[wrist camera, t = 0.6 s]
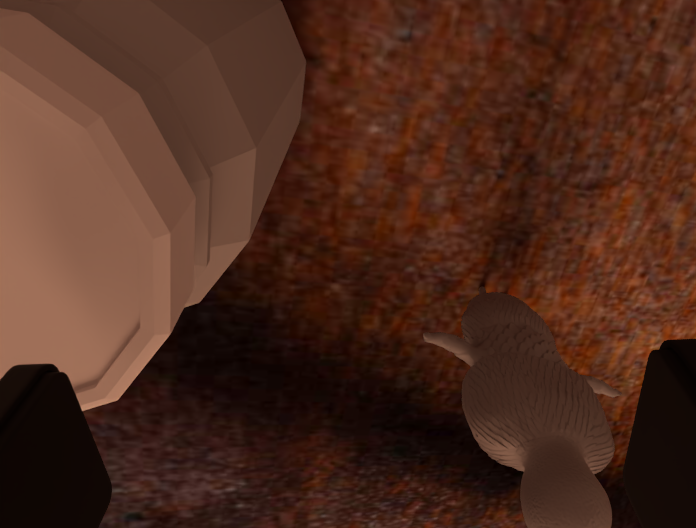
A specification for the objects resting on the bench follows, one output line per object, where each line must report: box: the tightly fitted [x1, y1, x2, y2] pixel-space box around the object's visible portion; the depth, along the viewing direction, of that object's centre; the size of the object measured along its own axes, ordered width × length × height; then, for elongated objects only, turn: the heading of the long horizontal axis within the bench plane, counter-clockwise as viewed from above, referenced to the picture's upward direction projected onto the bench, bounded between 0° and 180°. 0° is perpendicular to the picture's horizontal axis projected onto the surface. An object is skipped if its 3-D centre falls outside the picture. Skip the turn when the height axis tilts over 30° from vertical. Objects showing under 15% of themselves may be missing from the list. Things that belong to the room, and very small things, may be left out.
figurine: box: [423, 287, 622, 528], centre depth 25 cm, size 9×4×15 cm, turn 71°
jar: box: [0, 0, 306, 411], centre depth 18 cm, size 10×10×18 cm
